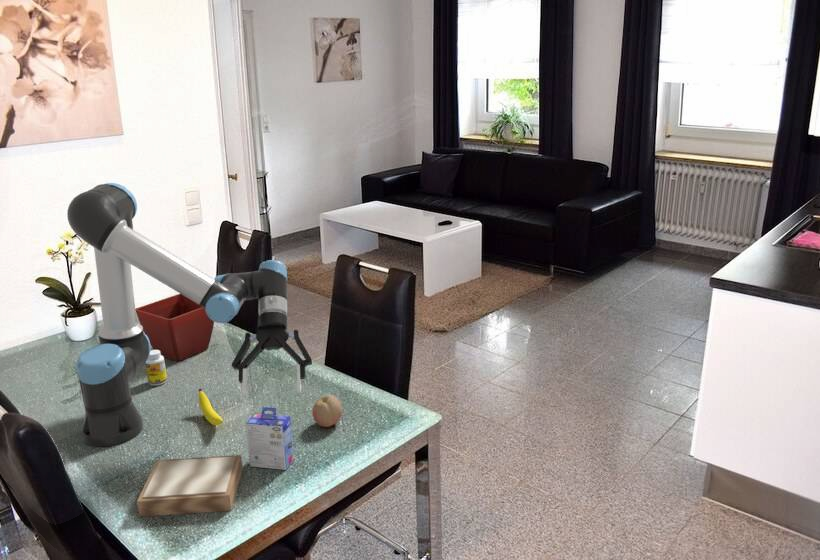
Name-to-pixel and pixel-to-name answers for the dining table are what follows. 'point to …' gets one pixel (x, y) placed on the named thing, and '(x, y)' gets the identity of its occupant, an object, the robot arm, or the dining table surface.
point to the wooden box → (191, 486)
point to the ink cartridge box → (270, 440)
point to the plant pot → (176, 326)
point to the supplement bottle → (156, 368)
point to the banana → (208, 410)
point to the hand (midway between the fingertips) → (272, 393)
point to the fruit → (327, 411)
